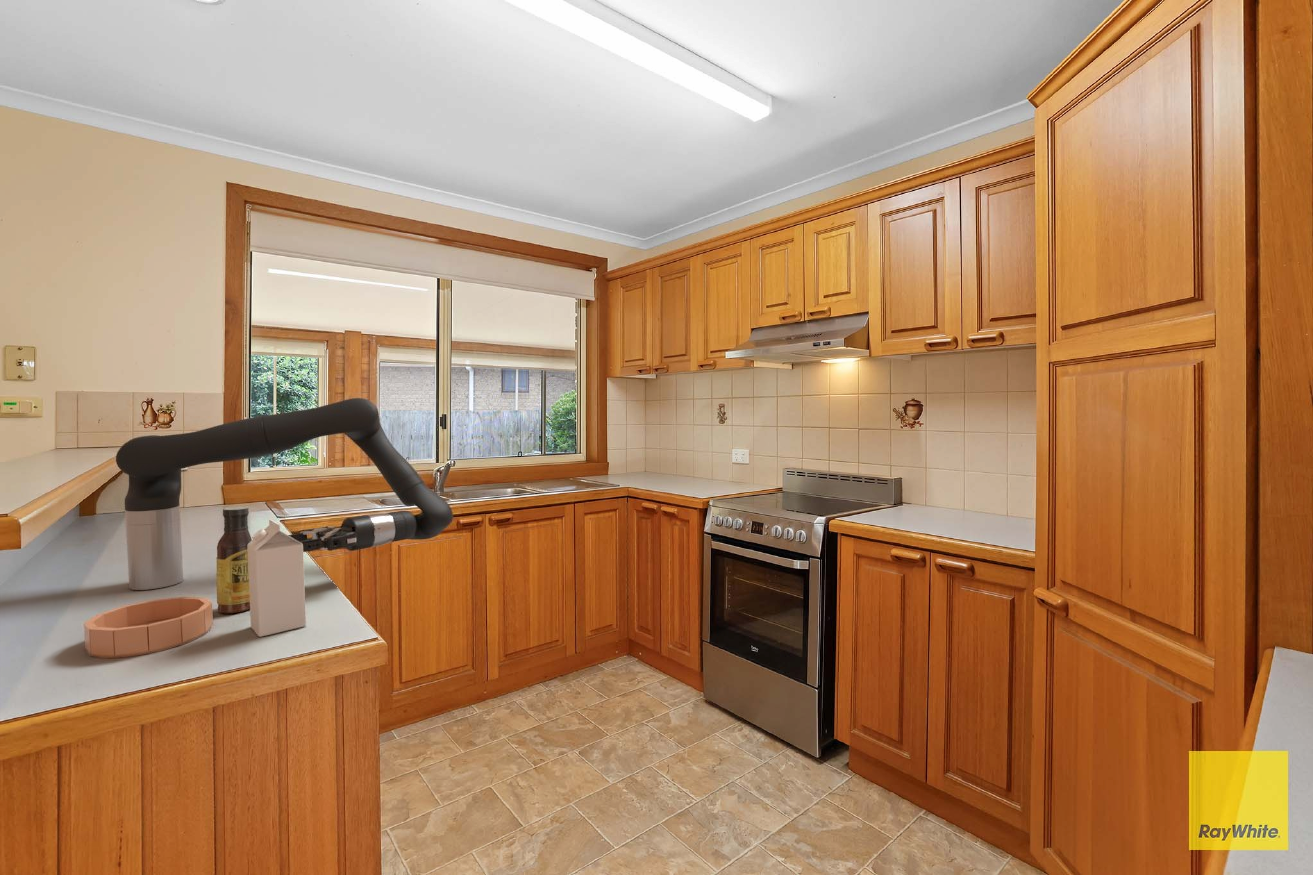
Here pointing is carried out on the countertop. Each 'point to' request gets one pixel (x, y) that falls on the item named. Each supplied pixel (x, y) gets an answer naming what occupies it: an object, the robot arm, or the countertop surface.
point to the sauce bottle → (233, 562)
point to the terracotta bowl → (147, 627)
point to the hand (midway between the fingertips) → (290, 544)
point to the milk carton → (276, 581)
